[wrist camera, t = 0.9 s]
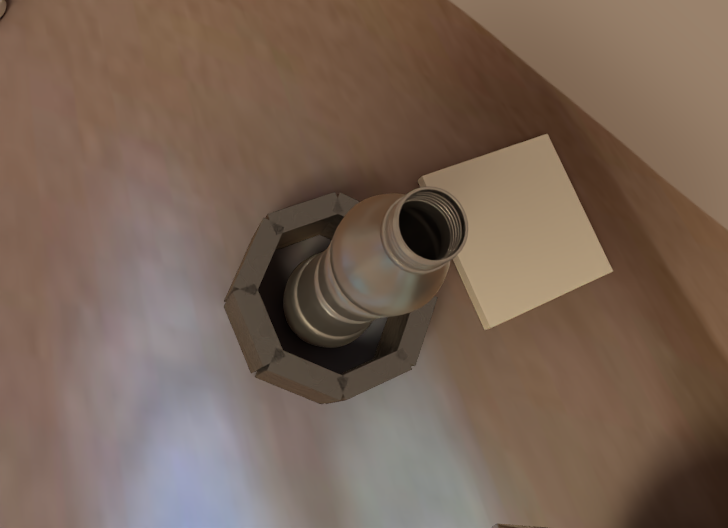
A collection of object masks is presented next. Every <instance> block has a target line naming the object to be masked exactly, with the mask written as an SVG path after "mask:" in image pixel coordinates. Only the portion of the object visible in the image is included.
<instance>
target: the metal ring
mask: <svg viewBox="0 0 728 528" xmlns="http://www.w3.org/2000/svg"><path fill="white" fill-rule="evenodd" d="M358 203H359V201H357V200H355V199H353V198H351V197H349V196H347V195H345V194H342V193H339V194H338V195H336V193H335V192H333V193H330V194H327V195H324V196H321V197H318V198H315V199H312V200H309V201H306V202H303V203H300V204H297V205H294V206H291V207H288V208H285V209H282V210H279V211H276V212H273V213H270V214H267V216H266V218H263V220H262V221H261V223H260V225H259V227H258V229H257V231H256V232H255V234H254V236H253V238H252V240H251V242H250V244H249V246H248V249H247V251H246V253H245V255H244V258H243V260H242V262H241V264H240V266H239V269H238V271H237V273H236V275H235V278H234V280H233V282H232V284H231V286H230V289H229V291H228V293H227V295H226V298H225V300H224V302H226V304H225V305H224V308H225V311H226V313H227V315H228V318H229V320H230V323H231V325H232V328H233V330H234V333H235V335H236V338H237V340H238V343H239V345H240V347H241V350H242V352H243V355H244V357H245V360H246V362H247V365H248V367H249V370H250V372H251V373H253V372H256V371H257V373H256V375H255V377H256V378H258V379H261V380H263V381H266V382H268V383H270V384H273V385H275V386H278V387H280V388H283V389H285V390H288V391H290V392H292V393H295V394H297V395H300V396H302V397H305V398H307V399H310V400H312V401H314V402H317V403H319V404H324V403H325V404H328V403H333V402H339V401H345V400H347V399H350V398H352V397H354V396H356V395H358V394H360V393H362V392H365V391H367V390H369V389H371V388H373V387H375V386H377V385H380V384H382V383H384V382H386V381H388V380H390V379H392V378H394V377H397V376H399V375H401V374H403V373H405V372H407V371H409V370H412V368H411V366H415V365H416V362H417V359H418V356H419V353H420V350H421V347H422V344H423V341H424V338H425V335H426V332H427V328H428V325H429V322H430V319H431V316H432V313H433V310H434V307H435V304H436V301H437V297H435V296H434V297H433V298H432V299H431V300H430V301H429V302H428V303H427V304H425V305H424V306H422V307H421V308H419V309H417V310H415V311H412V312H410V313H406V314H403V315H398V316H393V317H388V318H387V321H386V324H385V327H384V329H383V332H382V335H381V338H380V341H379V344H378V347H377V349H376V352H375V355H374V358H373V359H372V360H370V361H367V362H365V363H363V364H361V365H359V366H356V367H354V368H352V369H350V370H347V371H345V372H343V373H341V374H338V373H335V372H333V371H331V370H328V369H326V368H323V367H321V366H319V365H316V364H314V363H312V362H309V361H307V360H304V359H302V358H300V357H297V356H295V355H293V354H290V353H288V352H285V351H283V349H282V347H281V345H280V342H279V340H278V337H277V335H276V332H275V330H274V328H273V325H272V323H271V320H270V318H269V316H268V313H267V311H266V308H265V306H264V304H263V301H262V299H261V296H260V294H259V291H258V288H259V286H260V283H261V281H262V279H263V276H264V274H265V272H266V269H267V267H268V265H269V263H270V260H271V258H272V256H273V253H274V251H275V250H278V249H281V248H283V247H286V246H289V245H292V244H295V243H298V242H300V241H303V240H306V239H309V238H312V237H314V236H317V235H322V236H324V237H326V238H328V239H330V240H332V238H333V236H334V233H335V231H336V229H337V227H338V225H339V224H340V222H341V221H342V219H343V218H344V216H345V215H346V214H347V212H348V211H349V210H350V209H351V208H353V207H354V206H355V205H356V204H358Z"/></svg>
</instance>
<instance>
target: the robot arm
mask: <svg viewBox="0 0 728 528" xmlns="http://www.w3.org/2000/svg"><path fill="white" fill-rule="evenodd" d="M5 10H6V1H5V0H0V18H1V16H2V15H3V14H4V12H5ZM492 528H546V527H534V526H521V525H509V524H495V525H494V526H492Z"/></svg>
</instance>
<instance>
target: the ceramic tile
mask: <svg viewBox="0 0 728 528" xmlns="http://www.w3.org/2000/svg"><path fill="white" fill-rule="evenodd" d="M417 181H418V184H419V186H420V187H426V186H432V187H438V188H441V189H443V190H445V191H447V192H449V193H450V194H452V195H453V196H454V197H455V198H456V199H457V200H458V201H459V202H460V204H461V205H462V207H463V209H464V211H465V213H466V216H467V220H468V237H467V240H466V243H465V245H464V247H463V249H462V250H461V251H460V253H459V254H458V255H457V256H456V257H455V258H453V261H454V264H455V266H456V268H457V270H458V272H459V275H460V277H461V279H462V281H463V284H464V286H465V288H466V290H467V292H468V295H469V297H470V299H471V301H472V304H473V306H474V308H475V310H476V312H477V315H478V317H479V319H480V321H481V323H482V326H483V328H484V330H487V329H490V328H492V327H494V326H497V325H499V324H501V323H503V322H505V321H507V320H509V319H512V318H514V317H516V316H518V315H520V314H522V313H525V312H527V311H529V310H531V309H533V308H535V307H537V306H540V305H542V304H544V303H546V302H548V301H550V300H552V299H555V298H557V297H559V296H561V295H563V294H565V293H568V292H570V291H572V290H574V289H576V288H578V287H580V286H583V285H585V284H587V283H589V282H591V281H593V280H595V279H598V278H600V277H602V276H604V275H606V274H608V273H611V272H613V270H612V268H611V266H610V264H609V262H608V260H607V257H606V255H605V253H604V251H603V249H602V247H601V245H600V243H599V241H598V239H597V236H596V234H595V232H594V230H593V228H592V226H591V224H590V222H589V220H588V218H587V216H586V213H585V211H584V209H583V207H582V205H581V203H580V201H579V199H578V197H577V195H576V193H575V190H574V188H573V186H572V184H571V182H570V180H569V178H568V176H567V174H566V172H565V169H564V167H563V165H562V163H561V161H560V159H559V157H558V155H557V153H556V151H555V149H554V146H553V144H552V142H551V140H550V138H549V136H548V134H545V135H542V136H539V137H536V138H533V139H530V140H527V141H524V142H521V143H518V144H515V145H512V146H509V147H506V148H503V149H500V150H498V151H495V152H492V153H489V154H486V155H483V156H480V157H477V158H474V159H471V160H468V161H465V162H462V163H459V164H456V165H453V166H450V167H447V168H444V169H441V170H438V171H436V172H433V173H430V174H427V175H424V176H422V177H420V178H419V179H418V180H417Z"/></svg>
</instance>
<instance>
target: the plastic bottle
mask: <svg viewBox="0 0 728 528" xmlns="http://www.w3.org/2000/svg"><path fill="white" fill-rule="evenodd" d="M467 237H468V220H467V216H466V213H465V211H464V209H463V207H462V205H461V204H460V202H459V201H458V200H457V199H456V198H455V197H454V196H453V195H452V194H450V193H449V192H447V191H445V190H443V189H441V188H438V187H432V186H426V187H420V188H417V189H414V190H412V191H410V192H409V193H407V194H406V195H405V194H399V193H388V194H381V195H376V196H373V197H370V198H367V199H364V200H363V201H361V202H359V203H358V204H356V205H355V206H354V207H353V208H351V209H350V210H349V211H348V212H347V214H346V215H345V216H344V218H343V219H342V221H341V222H340V224H339V225H338V227H337V229H336V231H335V233H334V236H333V238H332V240H331V243H330V245H329V246H328V248H327V249H326V250H325V251H323V252H321V253H318V254H315V255H313V256H311V257H309V258H308V259H306V260H305V261H303V262H302V263H300V264H299V265H298V266H297V267H296V268H295V270H294V271H293V272H292V274H291V275H290V277H289V279H288V282H287V284H286V288H285V292H284V297H283V309H284V315H285V318H286V320H287V323H288V325H289V326H290V328H291V330H292V331H293V332H294V333H295V334H296V335H297V336H298V337H299V338H300V339H302V340H303V341H304V342H306V343H309V344H311V345H314V346H319V347H325V348H335V347H340V346H344V345H346V344H349V343H351V342H353V341H354V340H355V339H357V338H358V337H359V336H360V335H361V334H362V333H363V332H364V331H365V330H366V329H367V328H368V327H369V326H370V324H371V323H372V321H374V320H375V319H378V318H382V317H393V316H398V315H403V314H406V313H410V312H412V311H415V310H417V309H419V308H421V307H422V306H424V305H425V304H427V303H428V302H429V301H430V300H431V299H432V298H433V297H434V296H435V295H436V294H437V292H438V290H439V289H440V287H441V285H442V284H443V282H444V280H445V278H446V275H447V273H448V270H449V266H450V260H452V259H453V258H455V257H456V256H457V255H458V254H459V253H460V251H461V250H462V249H463V247H464V245H465V243H466V240H467Z"/></svg>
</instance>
